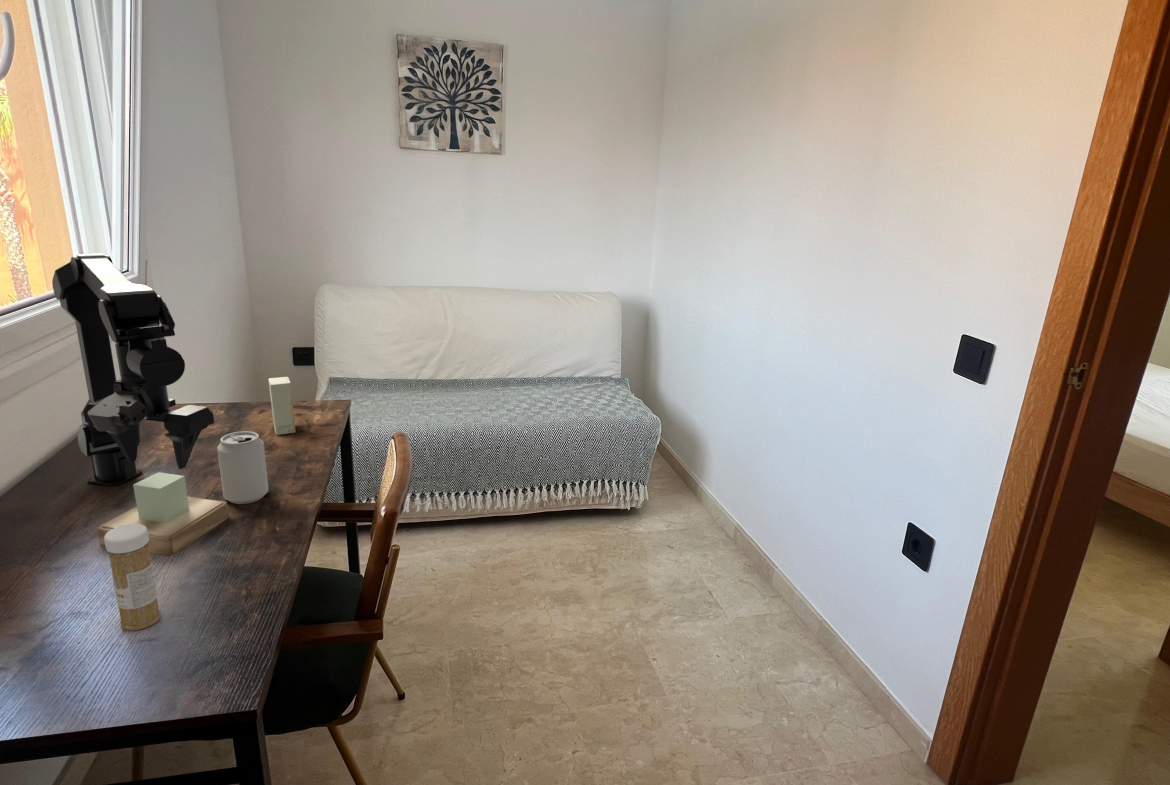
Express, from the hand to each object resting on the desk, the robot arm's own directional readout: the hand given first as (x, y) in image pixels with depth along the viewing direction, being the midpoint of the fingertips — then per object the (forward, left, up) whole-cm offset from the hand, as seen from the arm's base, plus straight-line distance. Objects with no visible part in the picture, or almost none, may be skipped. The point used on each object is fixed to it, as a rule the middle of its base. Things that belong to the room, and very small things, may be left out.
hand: (157, 464), depth 106 cm
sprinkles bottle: (+15, -21, -12) cm, 28 cm away
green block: (0, 0, -9) cm, 9 cm away
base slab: (0, 0, -12) cm, 12 cm away
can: (+4, +14, -12) cm, 19 cm away
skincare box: (-10, +46, -12) cm, 49 cm away
